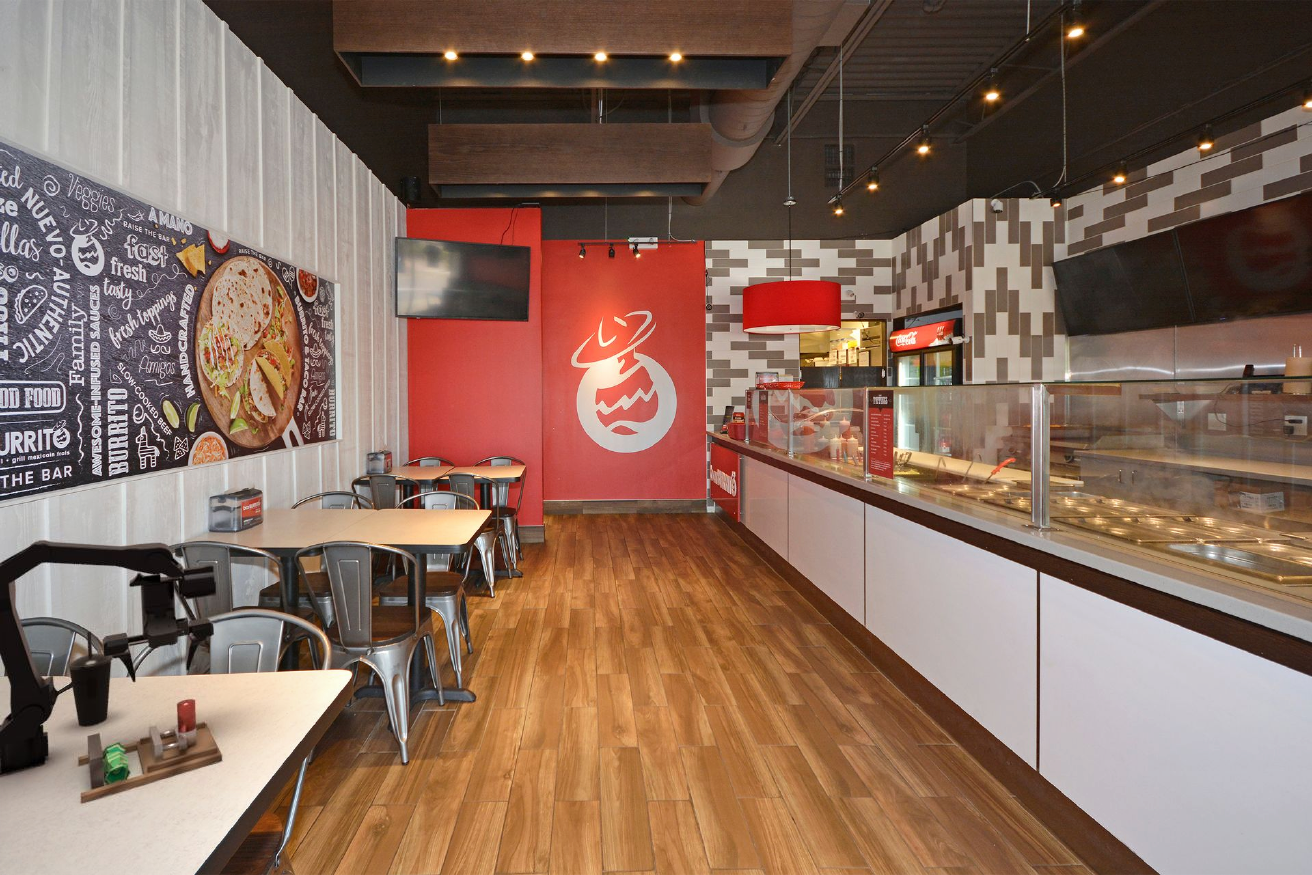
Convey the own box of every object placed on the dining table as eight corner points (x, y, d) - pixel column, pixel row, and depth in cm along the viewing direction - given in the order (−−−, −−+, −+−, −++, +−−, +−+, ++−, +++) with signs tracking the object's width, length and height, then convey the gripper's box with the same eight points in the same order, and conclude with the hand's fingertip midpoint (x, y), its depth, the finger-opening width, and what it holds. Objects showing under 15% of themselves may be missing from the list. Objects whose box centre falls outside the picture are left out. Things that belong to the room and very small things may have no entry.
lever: (155, 763, 128) (153, 719, 128) (149, 744, 136) (147, 702, 135) (200, 750, 133) (199, 708, 133) (192, 732, 141) (191, 692, 140)
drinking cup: (124, 714, 153) (120, 626, 152) (93, 730, 145) (88, 638, 144) (93, 712, 153) (89, 625, 152) (60, 728, 146) (56, 637, 145)
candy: (135, 775, 126) (118, 762, 124) (116, 791, 124) (99, 777, 122) (130, 751, 135) (114, 738, 133) (112, 766, 133) (96, 753, 131)
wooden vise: (81, 803, 118) (79, 769, 118) (78, 763, 132) (76, 732, 131) (222, 760, 132) (221, 730, 132) (206, 728, 146) (205, 700, 145)
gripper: (103, 621, 131) (107, 700, 132) (217, 602, 143) (219, 674, 144) (100, 609, 139) (104, 683, 140) (208, 592, 152) (210, 660, 152)
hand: (161, 675), depth 144 cm, fingers open, 9 cm apart
